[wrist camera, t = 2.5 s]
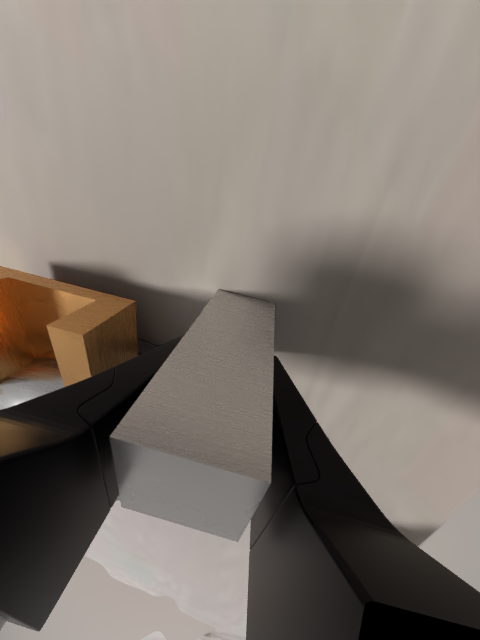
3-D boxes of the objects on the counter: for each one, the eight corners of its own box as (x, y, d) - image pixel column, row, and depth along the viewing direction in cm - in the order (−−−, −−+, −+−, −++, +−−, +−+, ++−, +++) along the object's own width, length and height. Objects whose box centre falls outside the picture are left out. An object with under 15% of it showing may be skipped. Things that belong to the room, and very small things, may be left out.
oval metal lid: (164, 470, 18) (132, 545, 14) (43, 435, 18) (-21, 497, 14) (172, 310, 10) (106, 373, 6) (-35, 257, 11) (-216, 285, 7)
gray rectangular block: (275, 303, 11) (270, 483, 4) (260, 349, 12) (237, 542, 5) (217, 289, 11) (109, 436, 4) (210, 336, 12) (121, 506, 5)
